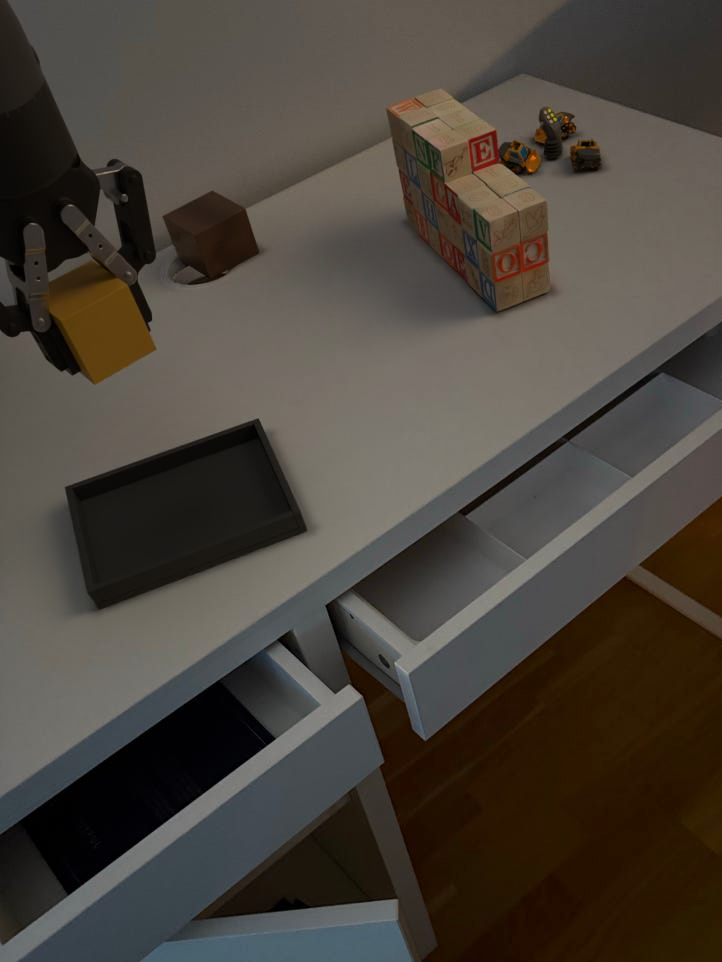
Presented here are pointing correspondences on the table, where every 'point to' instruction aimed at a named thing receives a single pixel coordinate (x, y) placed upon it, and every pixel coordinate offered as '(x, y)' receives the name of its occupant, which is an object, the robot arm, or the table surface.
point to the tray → (180, 512)
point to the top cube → (98, 321)
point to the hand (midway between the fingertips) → (105, 348)
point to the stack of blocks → (470, 199)
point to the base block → (211, 234)
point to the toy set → (551, 145)
